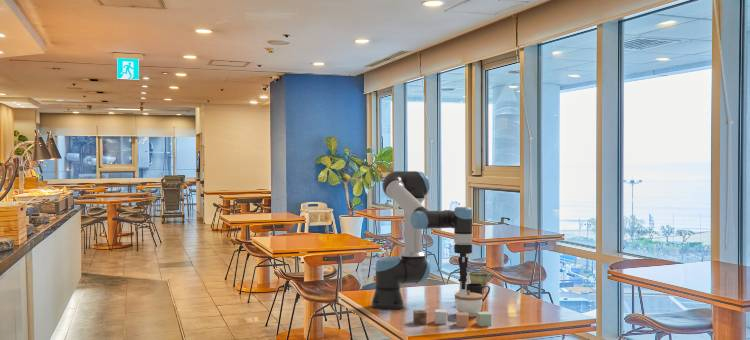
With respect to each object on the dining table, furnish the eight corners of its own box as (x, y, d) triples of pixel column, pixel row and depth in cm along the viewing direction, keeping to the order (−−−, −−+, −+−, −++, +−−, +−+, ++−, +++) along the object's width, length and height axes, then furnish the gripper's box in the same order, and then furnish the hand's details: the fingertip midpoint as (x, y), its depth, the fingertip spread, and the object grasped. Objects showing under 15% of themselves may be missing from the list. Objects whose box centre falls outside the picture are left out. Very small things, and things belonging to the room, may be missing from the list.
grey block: (434, 323, 272) (434, 311, 272) (436, 320, 277) (436, 309, 277) (446, 324, 271) (446, 312, 271) (447, 321, 276) (447, 309, 276)
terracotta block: (456, 326, 267) (456, 314, 267) (456, 323, 272) (456, 312, 272) (468, 327, 266) (468, 315, 266) (468, 324, 271) (468, 312, 271)
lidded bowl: (460, 310, 297) (461, 287, 297) (486, 314, 291) (486, 289, 291) (450, 315, 286) (450, 291, 286) (476, 319, 280) (476, 294, 280)
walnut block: (414, 324, 269) (414, 312, 269) (413, 321, 274) (413, 310, 274) (426, 324, 270) (426, 312, 270) (424, 321, 275) (425, 310, 275)
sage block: (479, 326, 268) (479, 314, 268) (476, 323, 273) (476, 311, 273) (491, 325, 269) (491, 314, 269) (487, 323, 274) (487, 311, 274)
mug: (491, 306, 308) (492, 286, 308) (467, 306, 307) (467, 286, 307) (487, 302, 316) (487, 283, 316) (463, 302, 315) (464, 283, 315)
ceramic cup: (468, 291, 343) (468, 273, 343) (469, 288, 353) (469, 270, 353) (492, 293, 341) (492, 274, 341) (493, 289, 350) (493, 271, 350)
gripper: (473, 247, 256) (472, 300, 256) (471, 240, 281) (471, 289, 281) (454, 246, 257) (454, 299, 257) (454, 240, 282) (454, 288, 282)
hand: (462, 294), depth 269 cm, fingers open, 13 cm apart
